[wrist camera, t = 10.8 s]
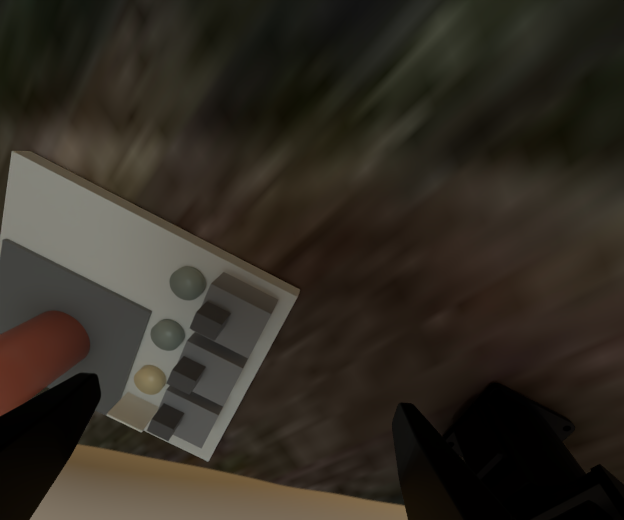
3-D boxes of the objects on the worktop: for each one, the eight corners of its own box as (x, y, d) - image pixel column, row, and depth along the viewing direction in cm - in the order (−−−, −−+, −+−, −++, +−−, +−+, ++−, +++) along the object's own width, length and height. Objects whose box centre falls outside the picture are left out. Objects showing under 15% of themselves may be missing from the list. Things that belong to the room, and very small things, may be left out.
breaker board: (300, 289, 21) (287, 323, 17) (214, 448, 27) (187, 504, 23) (30, 151, 20) (-56, 149, 16) (0, 345, 26) (-70, 382, 22)
